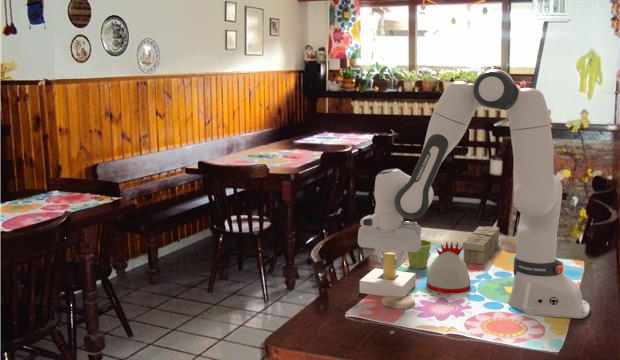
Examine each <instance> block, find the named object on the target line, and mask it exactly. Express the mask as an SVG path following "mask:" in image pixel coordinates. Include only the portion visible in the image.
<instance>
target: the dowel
mask: <svg viewBox="0 0 620 360" xmlns="http://www.w3.org/2000/svg"><path fill="white" fill-rule="evenodd" d="M382 256H383V262H382V269H383V279H385V280H395V279H396V271H397V268H396V267H397V266H396V265H397V264H395V263H394V262H395V261H394V259H395V258H396V257H397V255H396V252H390V251H389V252H386V251H385V252H383V253H382Z"/></svg>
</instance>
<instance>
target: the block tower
mask: <svg viewBox="0 0 620 360" xmlns="http://www.w3.org/2000/svg"><path fill="white" fill-rule="evenodd" d="M499 237H500V227H497V226H478V227H476V229H475V230H474V231H473V232H472V233H471V234H470V235H469V236H468V237H467V239H465V240H464V241H462V246H463V248H462V250H463V261H464V263H468V264H470V263H471V264H475V265H476V264H481V265H485V264H486V262H487V261H488V260H489V258H490V257H491V255H492V254H493V253H494V251H495V250H496V249H497V248H498V246H499V242H500V241H499ZM487 259H488V260H487Z"/></svg>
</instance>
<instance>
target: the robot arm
mask: <svg viewBox="0 0 620 360" xmlns="http://www.w3.org/2000/svg"><path fill="white" fill-rule="evenodd" d="M441 94H442V95H441V96H440V98H438V101H437V103H436V105H435V107H434V109H433V111H432V113H431V117H430V120H429V123H428V127H427V130H426V135H425V138H424V144H423V148H422V151H421V153H420V156H419V159H418V161H417V163H416V165H415V167H414V169H413V172H412V174H411V176H410V175H409V174H407V173H405V172H404V171H402V170H401V169H399V168H389V169H384V170H382V171H380V172H378V173H377V175H376V176H375V183H374V200H375V208H374V213H372V214H368V215H366V216H363V218H361V219H360V221H359V222H360V223H359V224H360V227H358V233H357V245H358V246H359V247H360V248H369V249H374V253H375V255H376V256H377V259H378V260H377V261H378V263H383V254H382V252H381V251H382V250H389V251H397V254H398V256H396V258H395V259H394V261H395V262H394V263H395V264H396V265H400V264H401V263H402V262H401V258H402V257H403V255H404V253H405V252H407V253H408V252H417V251H419V250H420V249H421V240H422V238H421V235H422V226H421V225H420V224H419V223H417V221H406V220H405V221H404V219H408V220H418V219H420V218H422V217H423V216H424V215H425V214H426V213H427V211H428V209H429V207H430V205H431V204H432V202H433V200H434V195H435V194H434V189H433V187H432V185H433V182H434V181H435V177H436V176H437V173H438V171H439V169H440V167H441V164H442V163H443V162H444V160H445V159H446V158H447V156H448V155H449V154H450V153H451V152H452V151H453V149H454V148H455V147H456V146H457V145H458V144H459V142H460V141H461V140H462V138H463V137H464V135H465V134H466V131H467V129H468V128H469V124H470V122H471V121H472V118H473V116H474V114H475V112H476V111H477V110H478V109H480V108H481V107H485V108H488V109H495V110H503V111H505V112H506V114H507V118H508V123H509V131H510V139H511V140H510V141H511V147H512V155H513V158H512V159H513V170H512V171H513V176H512V177H513V205H514V207H515V209H516V210H517V211H518V212H519V213H520V216H519V222H518V225H517V230H516V247H515V249H516V251H515V252H516V253H515V256H514V259H513V270H512V271H513V272H512V273H513V276H514V277H513V283H512V288H511V292H510V294H509V295H510V296H509V298H508V299H507V300H508V304H509V305H510V306H512V307H513V308H515V309H518V310H520V311H522V312H523V313H525V314H526V315H528V316H529V315H532V316H543V317H545V316H546V317H555V318H556V317H557V318H568V319H584V318H586V317H588V316H589V314H590V313H591V306H590V304H589V303H588V301H586V300H584V299H583V295H582V291H581V288H580V286H579V285H578V283H576V282H575V281H573V280H572V279H571V278H569V276H567V275H566V274H565V273H563V272H564V264H563V260H558V259H557V239H558V230H559V222H560V215H561V209H562V208H561V207H562V201H563V200H562V198H563V184H562V182H561V180H560V179H559V177H558V176H556V174H555V173H554V154H555V151H554V141H553V134H552V133H553V132H552V125H551V119H550V114H549V109H548V106H547V102H546V99H545V96H544V94H543V93H542V91H540V90H539V89H538V88H537V89H536V88H533V87H524V88H523V87H522V88H520V87H518V86H517V85H516V82H515V80H514V79H513V78H512V75H510V74H509V73H508V72H507V71H505V70H502V69H496V68H495V69H493V68H492V69H488V70H485V71H483V72H482V73H479V75H478V76H477V77H476V79H475V81H474V82H472V83H469V82H465V81H462V80H458V81H457V80H456V81H452V82H450V84H448V85H447V86H446V87H445V90H444V91H443V92H442V93H441Z"/></svg>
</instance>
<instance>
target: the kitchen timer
mask: <svg viewBox="0 0 620 360" xmlns="http://www.w3.org/2000/svg"><path fill="white" fill-rule="evenodd" d="M440 247H441V251H440V249H439V248H438V247H436V251H437V254H438V255H437V256H436V257H435V258H434V259H433V261H432V262H431V265H430V266H429V269H428V272H427V276H426V287H427V289H428V290H430V291H432V292H435V293H441V294H447V295H449V294H450V295H452V294H453V295H454V294H455V295H456V294H463V293H466V292H469V291H470V290H471V278H470V273H469V271H468V267H469V266H468V264H466V262H464V258H462V257H461V256H460V254H461V253H462V250H463V245H462V246H461V247H460V248H459V242H457V243H456V245H455V248H454V245H453V242H452V241H451V242H450V246H449V244H448V241H446V242H445V247H444V245H443V244H441V245H440Z"/></svg>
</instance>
